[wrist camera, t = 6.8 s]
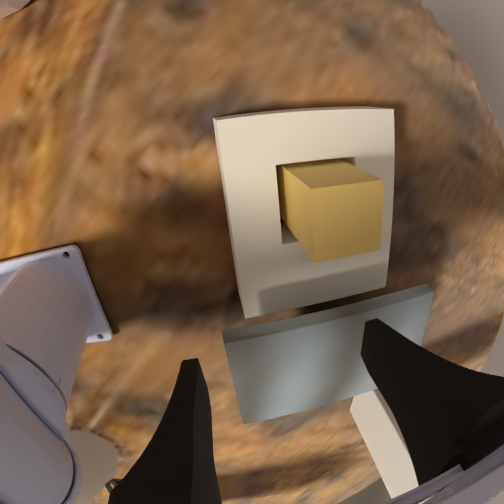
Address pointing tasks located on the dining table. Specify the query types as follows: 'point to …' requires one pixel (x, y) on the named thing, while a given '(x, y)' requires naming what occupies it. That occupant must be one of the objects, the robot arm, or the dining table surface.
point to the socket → (267, 202)
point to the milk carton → (384, 442)
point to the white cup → (11, 7)
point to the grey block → (315, 354)
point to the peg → (331, 207)
